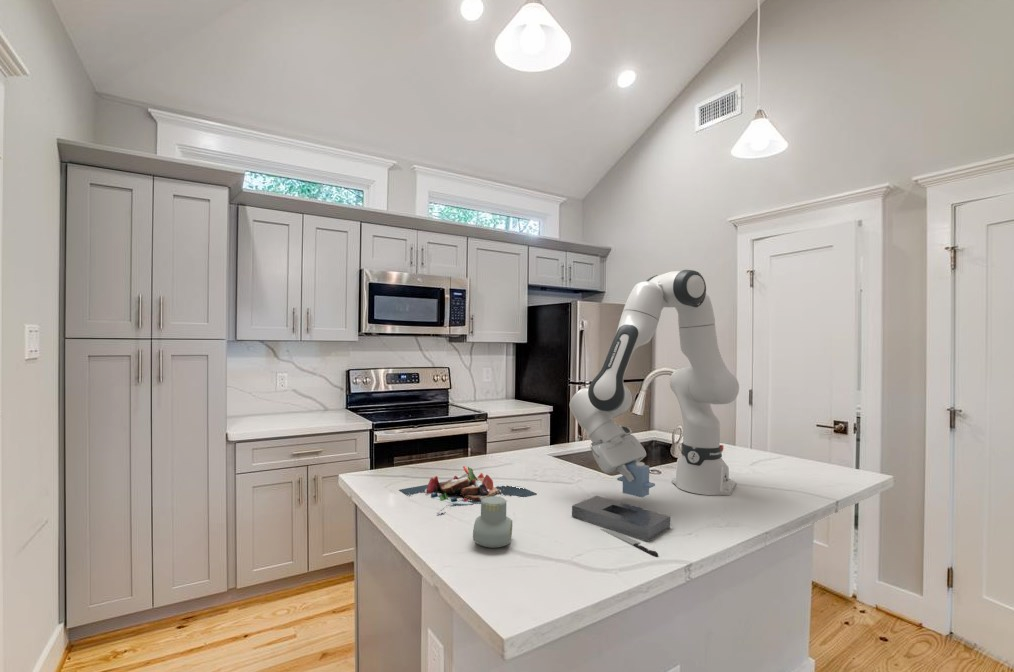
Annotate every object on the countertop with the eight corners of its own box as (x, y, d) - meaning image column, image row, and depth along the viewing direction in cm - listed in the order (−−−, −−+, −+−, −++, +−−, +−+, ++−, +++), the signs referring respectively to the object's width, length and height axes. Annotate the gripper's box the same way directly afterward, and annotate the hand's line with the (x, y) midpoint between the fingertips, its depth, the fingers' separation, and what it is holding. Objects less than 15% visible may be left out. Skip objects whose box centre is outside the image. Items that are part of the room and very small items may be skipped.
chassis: (596, 506, 142) (596, 495, 142) (670, 528, 127) (670, 516, 127) (571, 516, 133) (572, 505, 133) (647, 541, 118) (648, 529, 118)
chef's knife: (605, 527, 127) (596, 529, 126) (606, 523, 127) (597, 524, 126) (665, 556, 111) (656, 558, 110) (665, 551, 111) (656, 553, 110)
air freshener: (479, 532, 121) (479, 491, 121) (512, 534, 120) (513, 493, 120) (471, 552, 110) (472, 507, 110) (508, 554, 109) (509, 509, 109)
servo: (623, 487, 144) (623, 457, 144) (655, 496, 137) (656, 464, 137) (616, 491, 141) (616, 460, 141) (648, 499, 134) (649, 467, 134)
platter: (435, 520, 131) (436, 485, 131) (396, 494, 153) (396, 464, 153) (539, 498, 151) (540, 468, 151) (491, 478, 173) (491, 452, 173)
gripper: (594, 436, 136) (626, 480, 130) (632, 426, 151) (662, 464, 145) (581, 450, 139) (611, 493, 133) (618, 439, 154) (647, 476, 148)
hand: (638, 478), depth 139 cm, fingers closed on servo, 4 cm apart
